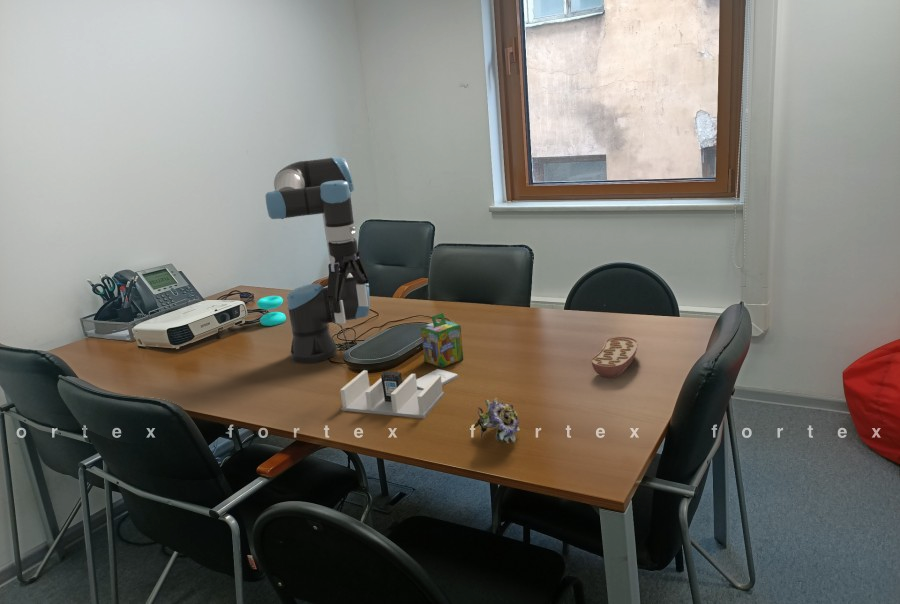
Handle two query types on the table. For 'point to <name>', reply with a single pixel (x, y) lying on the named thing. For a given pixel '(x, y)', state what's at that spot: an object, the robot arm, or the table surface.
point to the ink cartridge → (390, 383)
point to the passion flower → (499, 421)
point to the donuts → (272, 317)
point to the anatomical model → (615, 356)
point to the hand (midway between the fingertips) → (352, 314)
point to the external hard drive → (427, 378)
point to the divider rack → (403, 397)
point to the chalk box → (442, 342)
